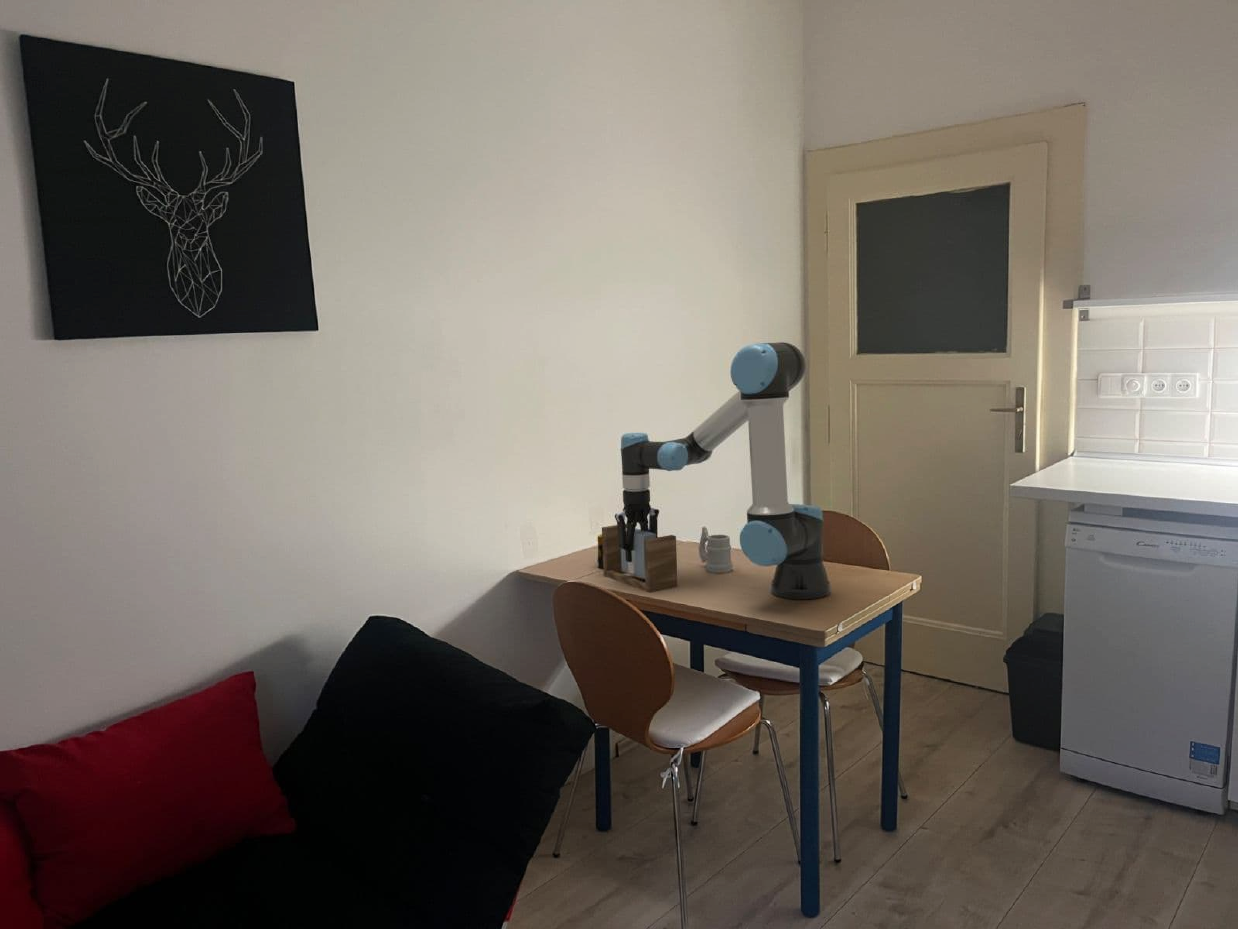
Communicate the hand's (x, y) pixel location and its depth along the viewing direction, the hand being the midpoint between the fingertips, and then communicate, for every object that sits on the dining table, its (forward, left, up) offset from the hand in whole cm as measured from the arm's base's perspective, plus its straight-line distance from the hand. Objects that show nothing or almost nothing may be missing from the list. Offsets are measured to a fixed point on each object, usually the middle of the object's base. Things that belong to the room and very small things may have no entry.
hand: (639, 571), depth 257 cm
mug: (-3, -24, -3) cm, 24 cm away
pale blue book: (0, 0, -1) cm, 1 cm away
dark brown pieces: (+19, -5, -3) cm, 20 cm away
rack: (0, 0, -3) cm, 3 cm away
